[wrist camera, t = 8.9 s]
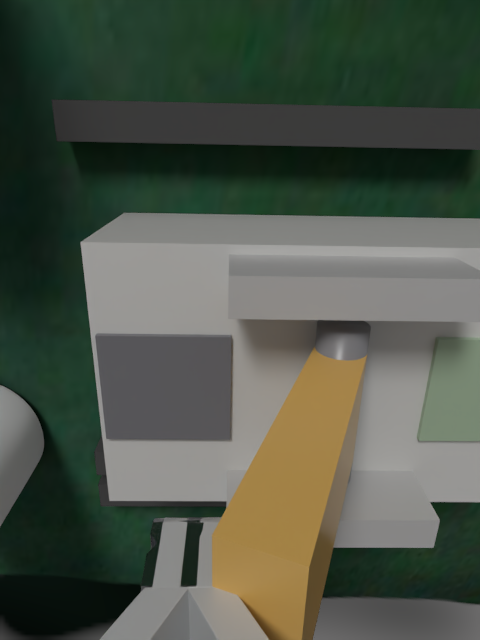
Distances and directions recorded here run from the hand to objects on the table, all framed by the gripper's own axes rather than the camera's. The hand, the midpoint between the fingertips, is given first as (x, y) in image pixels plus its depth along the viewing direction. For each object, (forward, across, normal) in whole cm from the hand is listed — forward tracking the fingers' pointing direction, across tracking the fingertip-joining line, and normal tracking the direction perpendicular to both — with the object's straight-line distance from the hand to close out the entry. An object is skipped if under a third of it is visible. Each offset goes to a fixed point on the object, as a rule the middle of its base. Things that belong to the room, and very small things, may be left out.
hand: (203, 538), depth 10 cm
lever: (+5, -4, 0) cm, 7 cm away
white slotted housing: (+12, -4, 0) cm, 13 cm away
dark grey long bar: (+12, -2, -8) cm, 15 cm away
